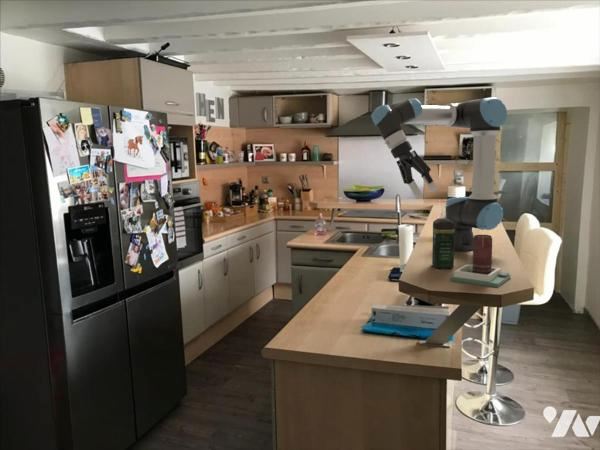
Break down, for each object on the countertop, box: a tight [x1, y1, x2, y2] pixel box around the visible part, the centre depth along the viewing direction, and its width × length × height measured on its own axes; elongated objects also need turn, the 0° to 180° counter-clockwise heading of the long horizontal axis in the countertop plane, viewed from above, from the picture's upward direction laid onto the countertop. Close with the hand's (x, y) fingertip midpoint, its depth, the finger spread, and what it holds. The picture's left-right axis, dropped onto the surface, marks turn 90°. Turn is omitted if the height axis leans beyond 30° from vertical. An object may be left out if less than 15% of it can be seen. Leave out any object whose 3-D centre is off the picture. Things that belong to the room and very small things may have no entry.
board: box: [449, 264, 511, 288], centre depth 169 cm, size 14×16×3 cm
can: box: [472, 234, 493, 275], centre depth 169 cm, size 6×6×14 cm
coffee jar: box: [431, 217, 455, 270], centre depth 188 cm, size 10×8×19 cm
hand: (426, 194), depth 183 cm, fingers open, 13 cm apart
